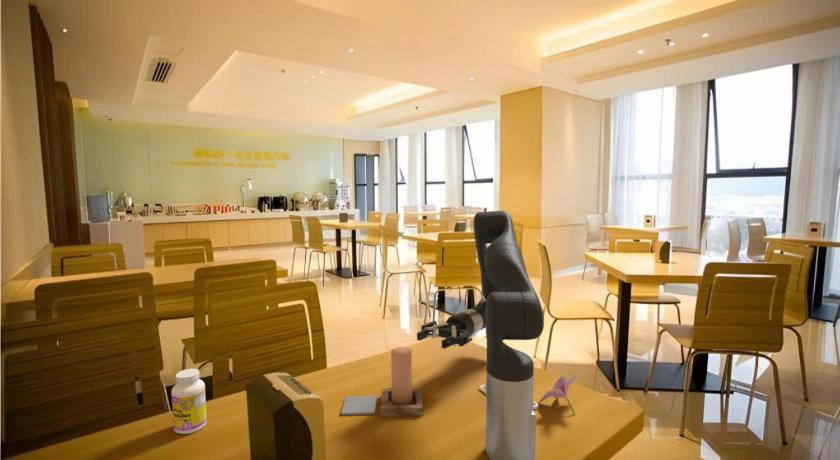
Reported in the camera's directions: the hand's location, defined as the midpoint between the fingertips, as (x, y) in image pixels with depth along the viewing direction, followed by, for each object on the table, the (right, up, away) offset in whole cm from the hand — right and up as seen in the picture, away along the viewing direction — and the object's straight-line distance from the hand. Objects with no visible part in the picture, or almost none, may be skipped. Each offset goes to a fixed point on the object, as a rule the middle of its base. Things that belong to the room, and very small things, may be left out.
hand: (430, 340), depth 112 cm
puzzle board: (-7, -14, -7) cm, 17 cm away
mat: (-18, -14, -8) cm, 24 cm away
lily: (+32, -14, -9) cm, 36 cm away
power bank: (+20, -14, -4) cm, 25 cm away
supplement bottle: (-55, -16, -16) cm, 59 cm away
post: (-7, -14, -7) cm, 17 cm away
